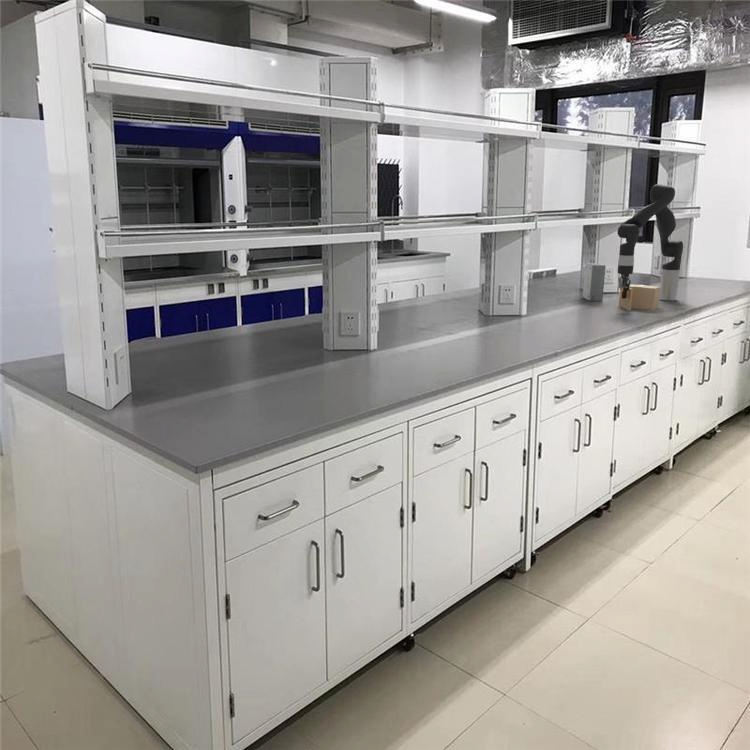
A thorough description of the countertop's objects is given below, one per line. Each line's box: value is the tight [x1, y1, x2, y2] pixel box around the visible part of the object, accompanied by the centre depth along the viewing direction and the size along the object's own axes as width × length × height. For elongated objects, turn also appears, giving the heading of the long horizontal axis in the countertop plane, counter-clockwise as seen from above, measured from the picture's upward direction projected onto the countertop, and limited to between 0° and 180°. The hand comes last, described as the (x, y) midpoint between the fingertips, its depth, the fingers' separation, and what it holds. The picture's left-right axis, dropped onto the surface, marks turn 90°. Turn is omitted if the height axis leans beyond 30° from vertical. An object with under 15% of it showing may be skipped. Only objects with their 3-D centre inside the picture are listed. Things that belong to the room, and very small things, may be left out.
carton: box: [629, 283, 661, 311], centre depth 380 cm, size 9×18×11 cm, turn 52°
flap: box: [618, 288, 633, 312], centre depth 373 cm, size 5×16×11 cm, turn 0°
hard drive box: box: [582, 262, 607, 302], centre depth 405 cm, size 16×8×20 cm, turn 179°
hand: (623, 297), depth 368 cm, fingers closed on flap, 2 cm apart
